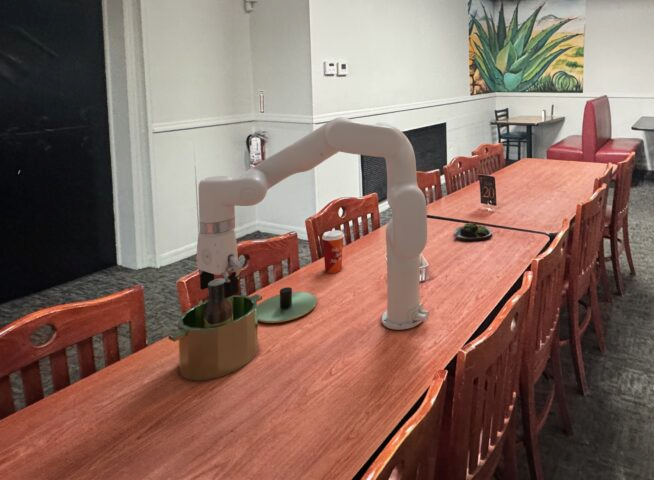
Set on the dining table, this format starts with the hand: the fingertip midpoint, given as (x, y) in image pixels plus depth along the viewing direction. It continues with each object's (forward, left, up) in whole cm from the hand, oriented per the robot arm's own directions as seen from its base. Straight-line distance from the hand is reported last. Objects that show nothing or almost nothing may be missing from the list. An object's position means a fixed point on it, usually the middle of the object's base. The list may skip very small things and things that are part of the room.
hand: (219, 291), depth 114 cm
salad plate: (-13, -106, -18) cm, 108 cm away
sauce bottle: (0, 0, -17) cm, 17 cm away
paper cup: (+15, -51, -18) cm, 56 cm away
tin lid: (+6, -24, -17) cm, 30 cm away
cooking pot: (0, 0, -18) cm, 18 cm away
